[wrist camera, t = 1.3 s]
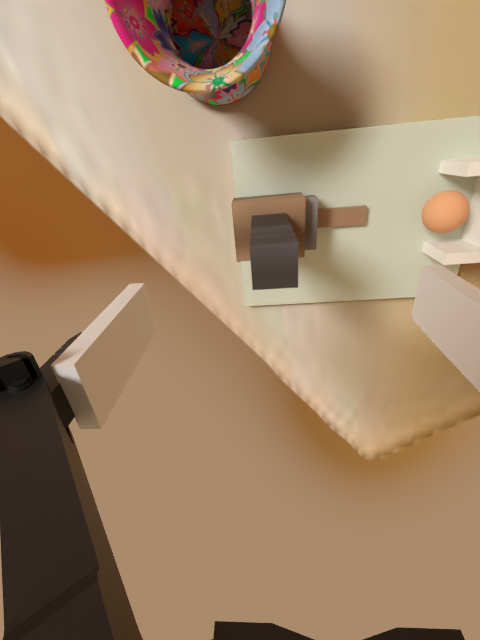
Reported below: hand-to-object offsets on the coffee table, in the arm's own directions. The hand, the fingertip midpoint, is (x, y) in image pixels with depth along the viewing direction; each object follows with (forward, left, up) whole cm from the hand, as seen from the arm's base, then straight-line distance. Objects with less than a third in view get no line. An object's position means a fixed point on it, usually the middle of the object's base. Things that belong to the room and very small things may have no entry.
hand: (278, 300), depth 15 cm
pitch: (+1, +8, -18) cm, 20 cm away
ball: (0, +15, -15) cm, 21 cm away
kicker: (0, +1, -16) cm, 16 cm away
